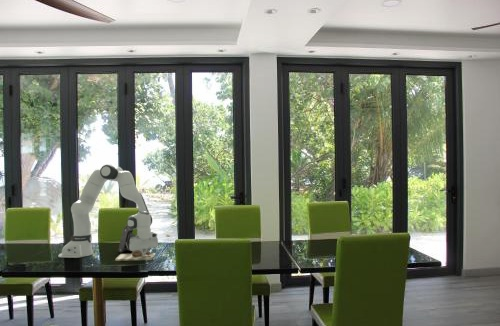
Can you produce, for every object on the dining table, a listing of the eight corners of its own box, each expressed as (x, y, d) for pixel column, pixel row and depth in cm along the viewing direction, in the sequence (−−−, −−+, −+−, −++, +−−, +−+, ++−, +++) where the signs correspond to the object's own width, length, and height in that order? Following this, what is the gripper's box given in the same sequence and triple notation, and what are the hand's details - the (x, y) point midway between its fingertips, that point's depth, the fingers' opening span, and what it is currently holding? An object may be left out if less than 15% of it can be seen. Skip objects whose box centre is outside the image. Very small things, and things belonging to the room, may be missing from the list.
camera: (136, 258, 272) (143, 231, 272) (116, 251, 276) (122, 225, 275) (144, 254, 283) (150, 229, 282) (124, 248, 286) (130, 222, 286)
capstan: (130, 256, 258) (130, 250, 258) (135, 253, 265) (135, 248, 265) (147, 257, 255) (147, 251, 255) (152, 254, 262) (152, 249, 262)
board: (115, 260, 252) (115, 258, 252) (120, 255, 265) (120, 253, 265) (152, 259, 254) (152, 257, 254) (155, 254, 268) (155, 252, 268)
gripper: (132, 237, 248) (132, 258, 248) (159, 233, 262) (159, 253, 262) (127, 236, 252) (127, 257, 252) (154, 232, 267) (154, 252, 267)
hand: (143, 255), depth 257 cm, fingers closed
